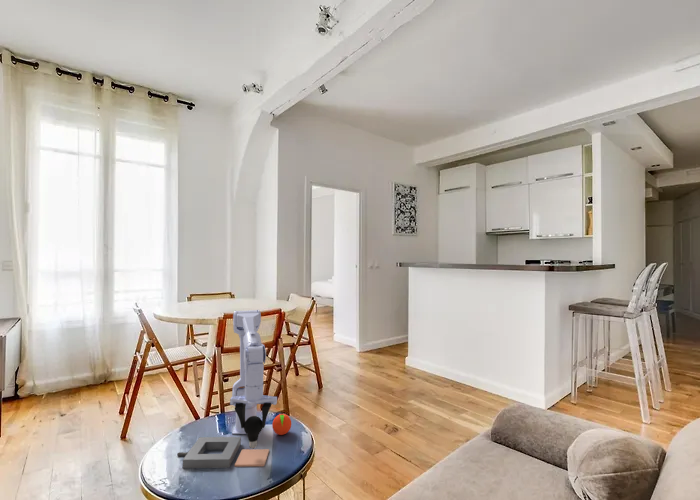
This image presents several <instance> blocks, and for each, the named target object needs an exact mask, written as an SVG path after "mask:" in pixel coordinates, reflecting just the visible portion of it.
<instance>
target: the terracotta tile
mask: <svg viewBox="0 0 700 500" xmlns="http://www.w3.org/2000/svg"><path fill="white" fill-rule="evenodd" d="M269 453H270V449H269V448H265V449H264V448H262V449H261V448H257V449H256V448H254V449H252V448H250V449H248V448H247V449H245V448H244V449H241V451H240V453H239V454H238V457H237V459H236V461H235V463H234V467H236V468H237V467H241V468H245V467H265V465H266V462H267V459H268V456H269Z"/></svg>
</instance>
